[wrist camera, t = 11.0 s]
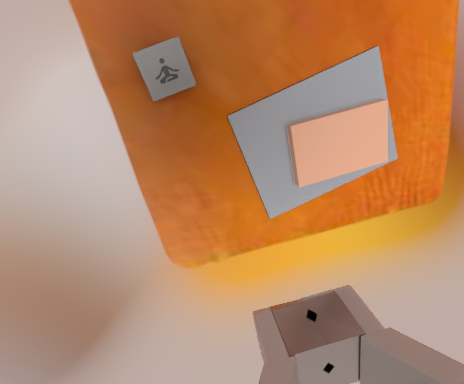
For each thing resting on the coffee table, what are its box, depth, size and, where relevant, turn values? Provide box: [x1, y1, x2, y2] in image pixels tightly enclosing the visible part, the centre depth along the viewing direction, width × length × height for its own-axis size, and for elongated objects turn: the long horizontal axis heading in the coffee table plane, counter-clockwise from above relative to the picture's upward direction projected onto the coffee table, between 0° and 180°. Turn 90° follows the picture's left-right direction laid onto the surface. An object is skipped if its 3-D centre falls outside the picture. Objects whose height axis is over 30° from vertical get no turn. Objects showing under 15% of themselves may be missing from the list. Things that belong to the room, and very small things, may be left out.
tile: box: [286, 99, 388, 188], centre depth 42 cm, size 2×9×14 cm
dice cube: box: [132, 36, 196, 102], centre depth 33 cm, size 5×5×5 cm
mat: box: [227, 46, 398, 219], centre depth 43 cm, size 17×22×1 cm
